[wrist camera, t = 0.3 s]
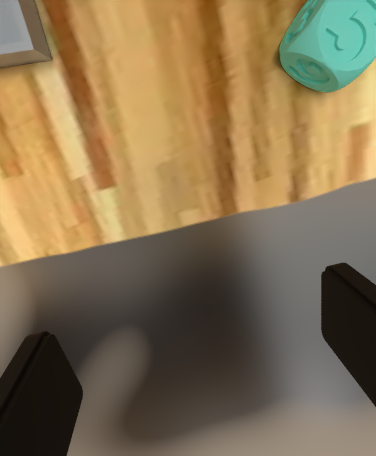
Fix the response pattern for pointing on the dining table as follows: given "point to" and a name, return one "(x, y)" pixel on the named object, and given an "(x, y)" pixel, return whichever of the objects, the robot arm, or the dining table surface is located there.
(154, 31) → the dining table surface
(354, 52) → the decorative dice
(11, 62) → the bin
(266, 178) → the dining table surface
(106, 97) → the dining table surface
